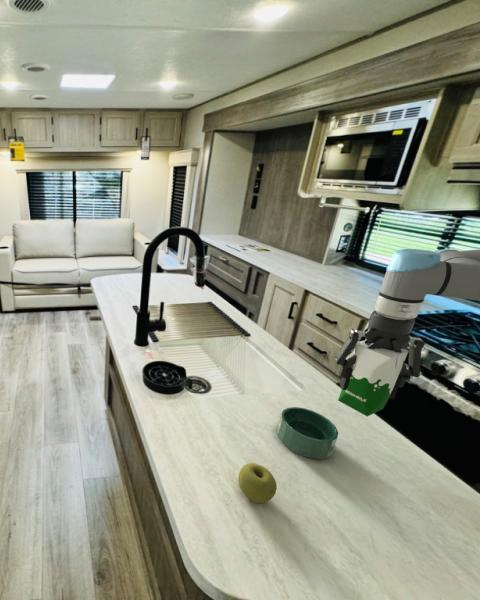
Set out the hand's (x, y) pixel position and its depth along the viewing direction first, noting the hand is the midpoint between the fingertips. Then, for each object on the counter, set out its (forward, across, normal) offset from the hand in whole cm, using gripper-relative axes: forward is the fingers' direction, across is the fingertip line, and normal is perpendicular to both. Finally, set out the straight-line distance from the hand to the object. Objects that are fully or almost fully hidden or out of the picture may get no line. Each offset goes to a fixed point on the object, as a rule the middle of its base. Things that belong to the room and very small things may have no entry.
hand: (365, 391), depth 83 cm
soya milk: (+5, 0, 0) cm, 5 cm away
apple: (+16, -26, -29) cm, 42 cm away
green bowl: (+16, -12, -6) cm, 21 cm away
